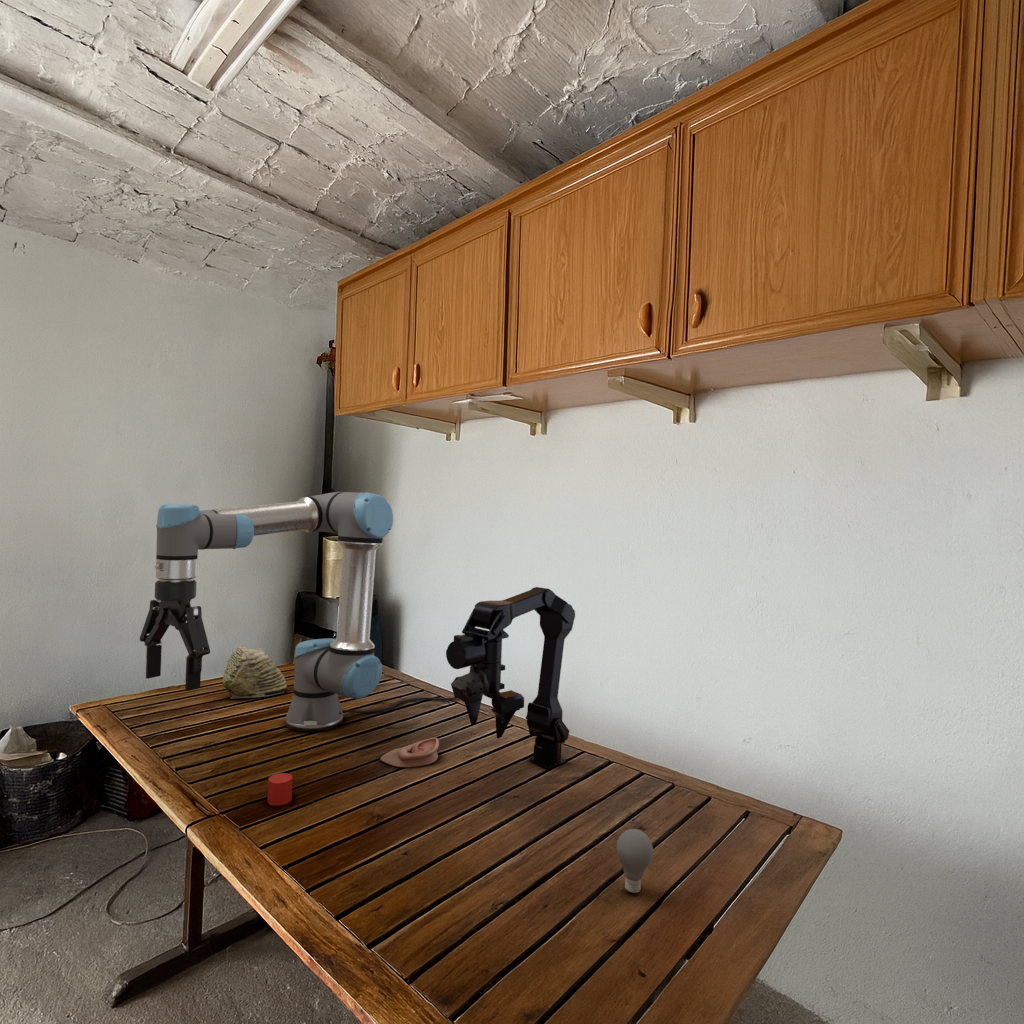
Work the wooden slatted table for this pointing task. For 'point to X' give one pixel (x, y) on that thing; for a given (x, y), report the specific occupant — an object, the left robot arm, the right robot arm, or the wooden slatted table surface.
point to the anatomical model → (413, 754)
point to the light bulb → (634, 857)
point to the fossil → (252, 674)
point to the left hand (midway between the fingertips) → (172, 683)
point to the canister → (279, 789)
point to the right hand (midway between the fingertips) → (485, 731)
